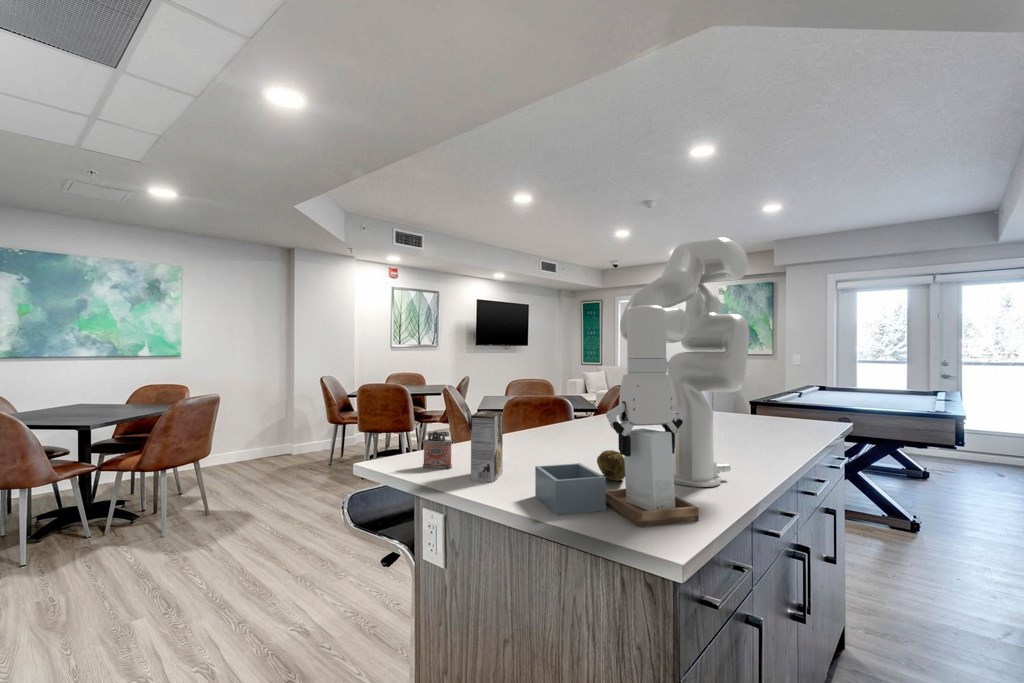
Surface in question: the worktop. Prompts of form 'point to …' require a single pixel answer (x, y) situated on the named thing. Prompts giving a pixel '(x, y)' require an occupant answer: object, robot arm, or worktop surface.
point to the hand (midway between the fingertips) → (647, 453)
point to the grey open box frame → (570, 488)
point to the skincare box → (650, 470)
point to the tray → (651, 511)
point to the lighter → (437, 451)
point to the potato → (612, 465)
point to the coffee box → (486, 446)
